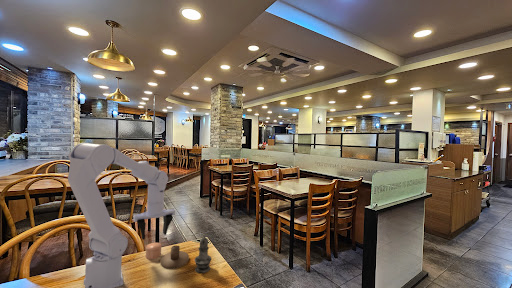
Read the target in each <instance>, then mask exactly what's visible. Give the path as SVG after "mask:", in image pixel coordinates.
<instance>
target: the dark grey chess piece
mask: <svg viewBox="0 0 512 288" xmlns="http://www.w3.org/2000/svg"><path fill="white" fill-rule="evenodd" d="M209 248H210V247H209V239H208V238H206V236H205V235H203V237H202V238H201V239H200V240H199V247H198V255H197V256H196V257H195V258H194V262H195V269H194V271H195V272H196V273H198V274H206V273H208V272H209V271H211V266H210V264H211V261H212V259H213V258H212V257H211V256H210V255H209V254H208V253H209Z"/></svg>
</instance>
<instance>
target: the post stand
mask: <svg viewBox="0 0 512 288" xmlns="http://www.w3.org/2000/svg"><path fill="white" fill-rule="evenodd" d="M180 249H181V247H180V246H179V245H173V246H171V247H170V252H166V253H165V254H163V255H162V256H161V258H160V260H159V261H160V266H161V267H162V268H164V269H170V270H171V269H178V268H181V267H184V266H186V264H188V262H189V260H190V255H189V254H188V253H187V252H185V251H182V250H180Z"/></svg>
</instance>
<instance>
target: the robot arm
mask: <svg viewBox="0 0 512 288" xmlns="http://www.w3.org/2000/svg"><path fill="white" fill-rule="evenodd" d="M68 159H69V162H70V163H69V168H68V174H67V182H68V184H69V186H70V188H71V190H72V193H73V195H74V197H75V199H76V202H77V203H78V206H79V208H80V210H81V212H82V214H83V216H84V219H85V221H86V223H87V225H88V227H89V228H90V232H89V233H88V234H87V236H88V239H89V242H88V247H89V249H90V250H91V251H93V253H92V254H93V256H91V257H88V258H86V259H85V272H84V278H83V286H84V288H118V287H121V286H123V285H124V279H123V278H124V277H123V273H122V272H123V271H122V260H123V255H124V253H125V251H126V249H127V248H128V243H129V240H128V237H126V236H125V235H123V234H122V232H121V230H120V229H119V228H118V227H117V226H116V225H115V224H113V221H112V218H111V216H110V214H109V211H108V209H107V207H106V204H105V201H104V199H103V197H102V194H101V192H100V190H99V187H98V185H97V182H96V179H97V178H98V177H99V176H100V175H101V174H102V173H103V172H104V171H105V170H106V169H107V168H108V167H109V166H110V165H117V166H120V167H123V168H125V169H127V170H130V171H131V175H132V176H133V177H136V178H138V179H140V180H141V181H144V182H145V183H146V184H147V185H148V186H147V201H146V202H147V207H146V211H145V212H142V213H137V214H134V215H133V218H132V219H133V222H134V223H135V222H136V223H137V225H138V228H139V230H140V231H139V232H140V234H141V235H140V236H141V239H142V240H146V226H147V223H146V220H149V219H157V218H161V217H162V220H163V221H162V222H163V225H162V234H163V235H164V236H166V235H167V232H168V230H169V228H170V227H169V226H170V225H171V223H172V221H173V219H174V217H173V216H175V215H176V210H175V208H171V209H164V206H165V205H164V203H165V189H166V187H167V184H168V181H169V177H168V174H167V172H165V171H164V170H160V169H158V167H157V166H152V165H151V164H150V162H149V161H147V160H140V161H136V160H134V159H133V158H132V157H130V156H128V155H127V154H124V153H123V152H122V151H120V150H119V149H118V148H115V147H111V146H110V145H108V144H104V143H103V144H97V143H90V142H81V143H80V142H79V143H78V144H76V145H75V146H74V147H73V148H72V150H71V151H70V152H69V154H68Z"/></svg>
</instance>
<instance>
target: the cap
mask: <svg viewBox="0 0 512 288" xmlns="http://www.w3.org/2000/svg"><path fill="white" fill-rule="evenodd" d="M161 255H162V244H161V243H160V242H151V243H149V244H147V245H146V248H145V258H146V259H147V260H155V259H158V258H159V257H161Z"/></svg>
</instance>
